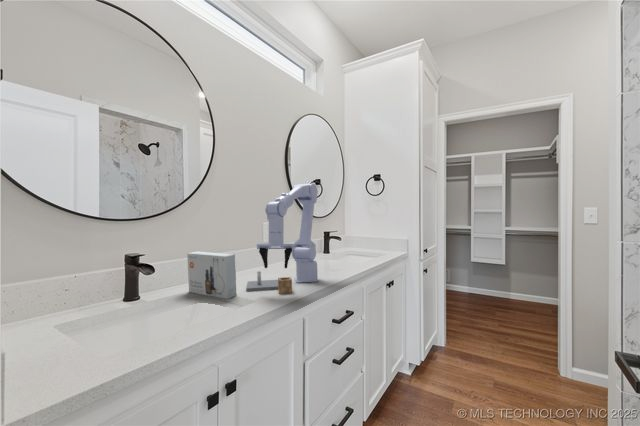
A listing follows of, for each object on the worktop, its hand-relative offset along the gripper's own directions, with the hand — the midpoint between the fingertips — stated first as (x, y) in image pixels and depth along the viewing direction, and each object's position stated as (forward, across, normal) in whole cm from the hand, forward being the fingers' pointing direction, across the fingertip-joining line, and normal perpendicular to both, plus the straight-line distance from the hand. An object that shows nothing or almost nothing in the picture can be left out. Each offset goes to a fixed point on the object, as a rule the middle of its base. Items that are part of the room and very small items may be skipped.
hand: (275, 267), depth 112 cm
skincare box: (+10, -25, 0) cm, 27 cm away
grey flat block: (+10, -5, +11) cm, 16 cm away
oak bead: (+10, +3, +3) cm, 10 cm away
